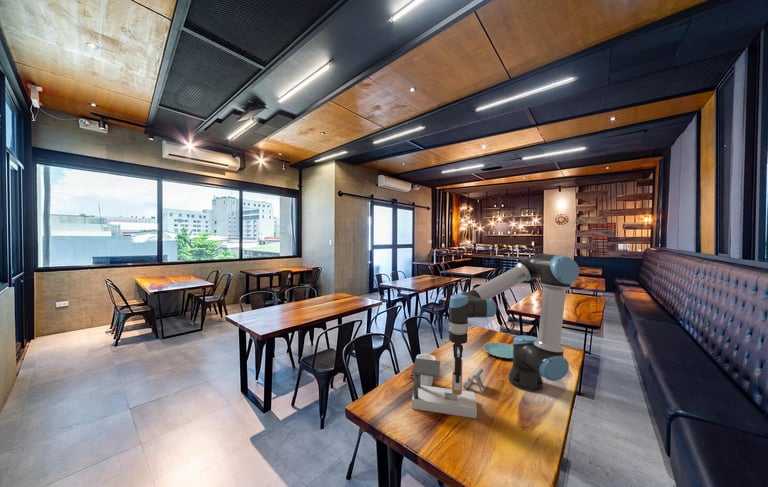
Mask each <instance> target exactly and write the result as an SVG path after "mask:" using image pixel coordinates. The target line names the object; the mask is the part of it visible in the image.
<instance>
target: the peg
mask: <svg viewBox="0 0 768 487" xmlns="http://www.w3.org/2000/svg"><path fill="white" fill-rule="evenodd" d="M453 372H455V358H452V374H451V376H452V377H451V378H452V380H451V385H452V386H451V389H452V393H453V394H455V395H461V394H462V391H463V359H462V358H461V390H455V389H454V374H453Z"/></svg>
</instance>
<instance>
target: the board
mask: <svg viewBox="0 0 768 487" xmlns="http://www.w3.org/2000/svg"><path fill="white" fill-rule="evenodd" d="M476 399H477V398H476V394H475V392H474V391H467V390H462V394H461V395H455V394H453V393H452V388H445V387H439V386H424V385H421V387H420V388H418V399H414V391H413V392H412V397H411V409H412V410H419V411H424V412H426V411H427V412H432V413H439V414H445V415H453V416H459V417H466V418H472V419H478V418H477V417H478V416H477V415H478V407H477V400H476Z"/></svg>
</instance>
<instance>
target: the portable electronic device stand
mask: <svg viewBox="0 0 768 487" xmlns="http://www.w3.org/2000/svg"><path fill="white" fill-rule="evenodd" d="M483 372H484V369H483V368H482V367H479V368H478V369H477V370H476V372H475V373H474V374H473V375H472V378H471V376H469V377H468V378H467V380H466V381H464V383H463V384H462V389H465V390H467V389H468V388H469V387H470V385H471V384H472V383H473V381H474V380H475V381H476V383H477V385H478V386H477V387H478V389H479V391H480V392H482V391H483V389H485V386H484V383H483V381H482V379H481V374H482V373H483Z"/></svg>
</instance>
